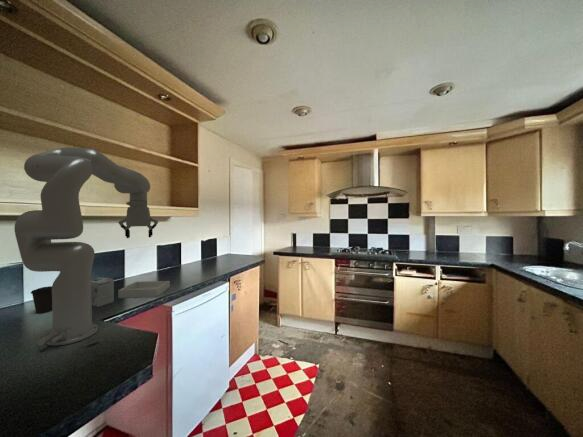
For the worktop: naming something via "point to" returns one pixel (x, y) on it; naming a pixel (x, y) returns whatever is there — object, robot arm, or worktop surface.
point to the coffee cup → (42, 299)
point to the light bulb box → (102, 291)
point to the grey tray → (144, 289)
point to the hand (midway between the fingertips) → (139, 237)
